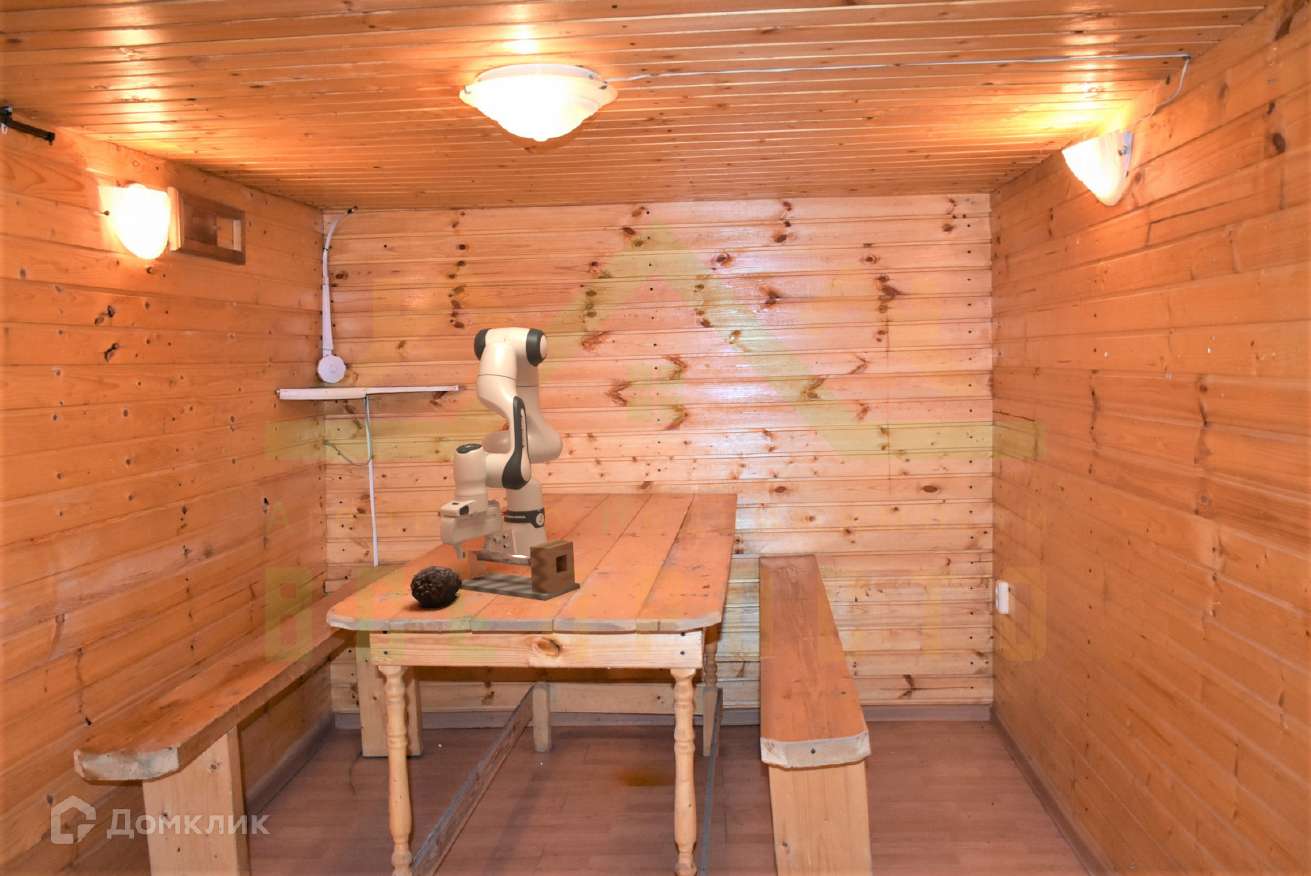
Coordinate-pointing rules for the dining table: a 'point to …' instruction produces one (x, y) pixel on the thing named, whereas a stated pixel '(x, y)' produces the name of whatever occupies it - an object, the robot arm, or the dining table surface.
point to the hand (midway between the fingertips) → (474, 554)
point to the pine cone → (435, 587)
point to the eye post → (534, 574)
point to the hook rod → (492, 560)
